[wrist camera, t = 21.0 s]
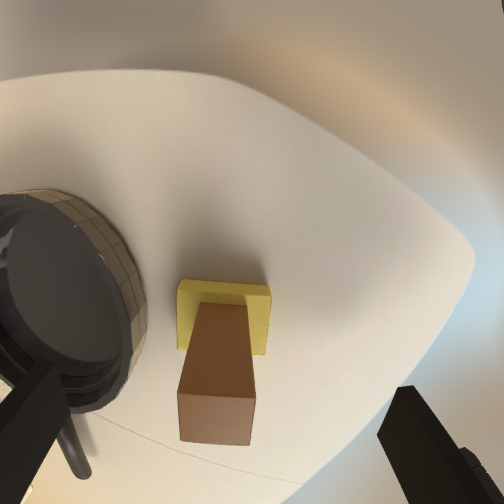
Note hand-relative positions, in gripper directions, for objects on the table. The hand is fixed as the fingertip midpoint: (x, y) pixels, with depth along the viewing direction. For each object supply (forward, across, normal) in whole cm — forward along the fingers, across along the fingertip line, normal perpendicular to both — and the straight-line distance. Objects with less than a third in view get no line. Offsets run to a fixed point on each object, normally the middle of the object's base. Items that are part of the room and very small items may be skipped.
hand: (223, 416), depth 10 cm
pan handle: (+9, -14, -15) cm, 23 cm away
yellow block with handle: (+12, 0, -1) cm, 12 cm away
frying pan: (+12, -14, -2) cm, 19 cm away
